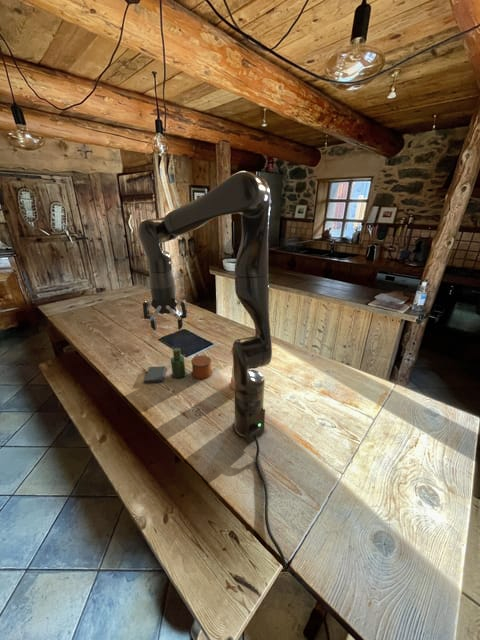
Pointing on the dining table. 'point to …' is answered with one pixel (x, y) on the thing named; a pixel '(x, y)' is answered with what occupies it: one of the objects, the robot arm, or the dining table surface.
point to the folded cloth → (155, 374)
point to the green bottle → (178, 364)
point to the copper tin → (201, 367)
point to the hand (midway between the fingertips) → (167, 328)
